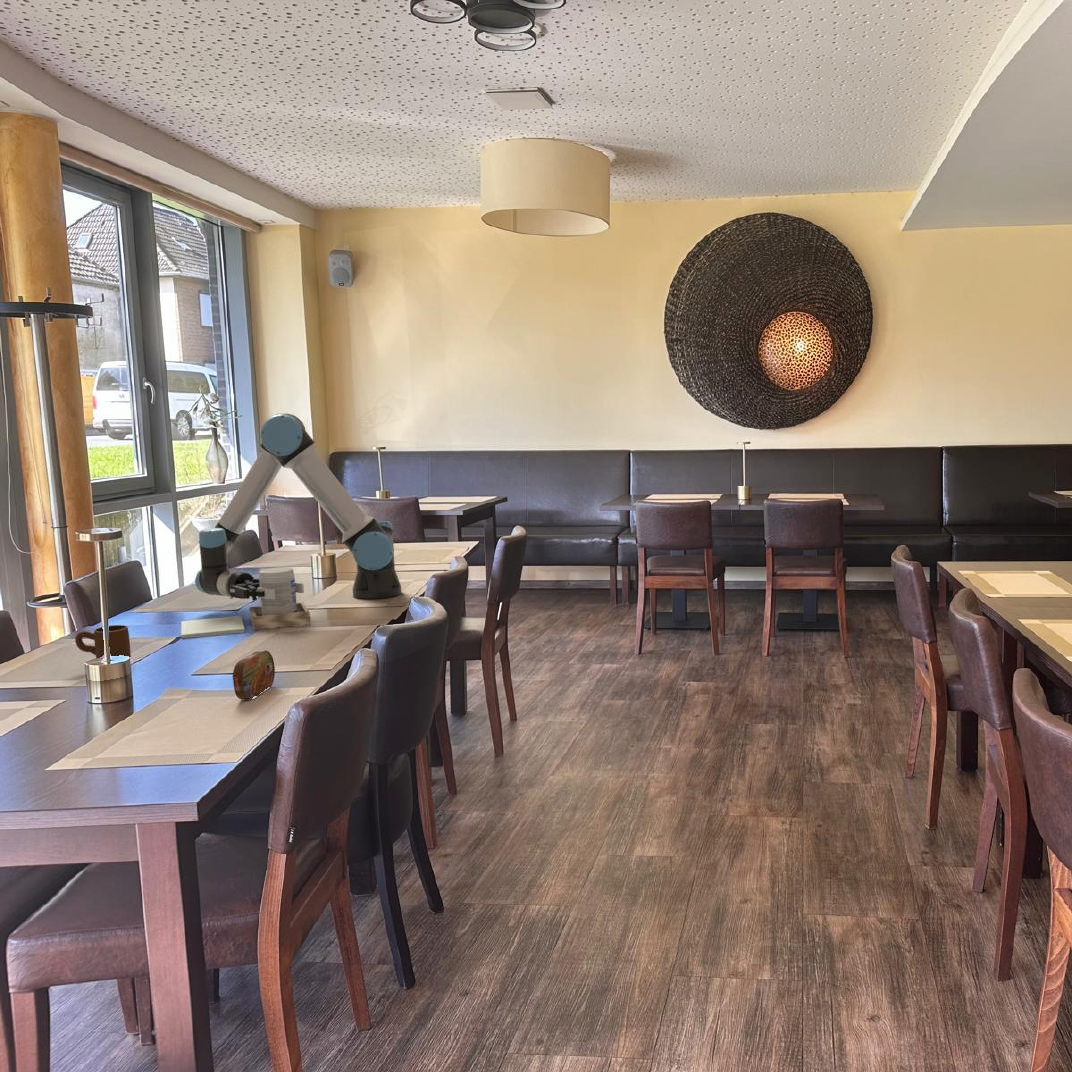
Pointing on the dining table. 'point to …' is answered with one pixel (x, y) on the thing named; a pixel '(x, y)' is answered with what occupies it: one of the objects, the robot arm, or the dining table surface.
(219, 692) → the dining table surface
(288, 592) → the supplement tub
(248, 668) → the tin
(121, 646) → the mug
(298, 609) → the holder frame
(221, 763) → the dining table surface
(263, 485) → the robot arm
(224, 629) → the board
